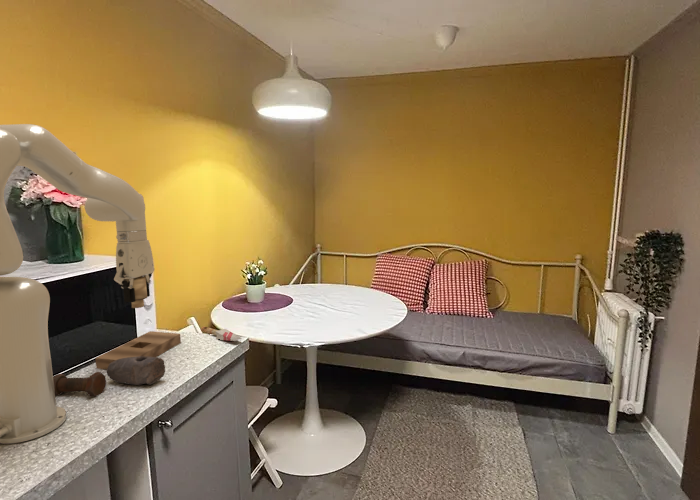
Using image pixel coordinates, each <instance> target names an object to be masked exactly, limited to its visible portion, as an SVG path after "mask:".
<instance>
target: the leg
mask: <svg viewBox="0 0 700 500" xmlns="http://www.w3.org/2000/svg"><path fill="white" fill-rule="evenodd" d="M127 282H129V279H127ZM132 288H134V289H135V302H131V309H140V308H143V307H145V300H146V299H148V297H147V287H146V277H145V276H141V277H137V278H134V280H133V287H132Z"/></svg>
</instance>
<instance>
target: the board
mask: <svg viewBox="0 0 700 500" xmlns="http://www.w3.org/2000/svg"><path fill="white" fill-rule="evenodd" d="M181 338H182V337H181V333H178V332H177V333H176V332H162V331H153V330H152V331H150V330H149V331H148V332H146V333H143V334H142V335H140V336H137V337H136V338H133V339H131V340H130V341H127V342H125V343H124V344H121V345H119V346H117V347H115V348H112V349H111V350H109V351H107V352H104V353H102V354H100V355H99V356H96V357H95V367H96V369H97V370H98V369H99V370H106V371H107V368H108V365H109V364H110V363H111V362H113V361H115V360H118V359H122V358H127V357H138V356H145V357H159V356H161V355H162V354H164V353H166V352H167V351H169V350H171V349H173V348H174V347H176V346H178V345H179V344H181V343H182V341H181Z"/></svg>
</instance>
